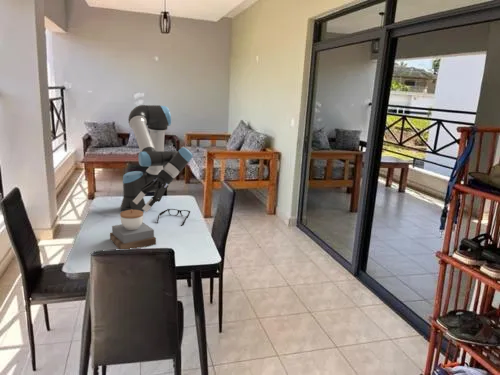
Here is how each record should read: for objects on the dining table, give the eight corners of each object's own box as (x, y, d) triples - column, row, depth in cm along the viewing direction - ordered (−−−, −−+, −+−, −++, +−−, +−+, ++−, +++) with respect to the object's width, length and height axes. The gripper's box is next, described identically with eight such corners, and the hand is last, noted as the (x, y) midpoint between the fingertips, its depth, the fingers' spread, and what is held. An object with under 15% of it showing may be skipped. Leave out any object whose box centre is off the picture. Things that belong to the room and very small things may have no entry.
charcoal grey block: (112, 233, 193) (112, 226, 192) (141, 228, 202) (141, 221, 201) (123, 243, 181) (123, 235, 181) (153, 237, 191) (153, 229, 190)
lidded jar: (120, 232, 184) (119, 213, 182) (121, 225, 194) (120, 206, 192) (143, 231, 187) (143, 212, 185) (143, 223, 197) (142, 206, 195)
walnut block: (110, 240, 195) (109, 232, 194) (143, 234, 204) (143, 227, 203) (121, 252, 181) (120, 244, 180) (155, 245, 191) (155, 238, 190)
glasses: (192, 218, 235) (193, 210, 234) (183, 226, 218) (183, 218, 217) (166, 216, 237) (166, 208, 236) (155, 223, 220) (155, 215, 219)
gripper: (183, 184, 186) (154, 218, 182) (163, 173, 206) (136, 204, 202) (173, 174, 182) (142, 209, 178) (153, 164, 202) (125, 195, 197)
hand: (139, 206), depth 189 cm, fingers open, 13 cm apart
